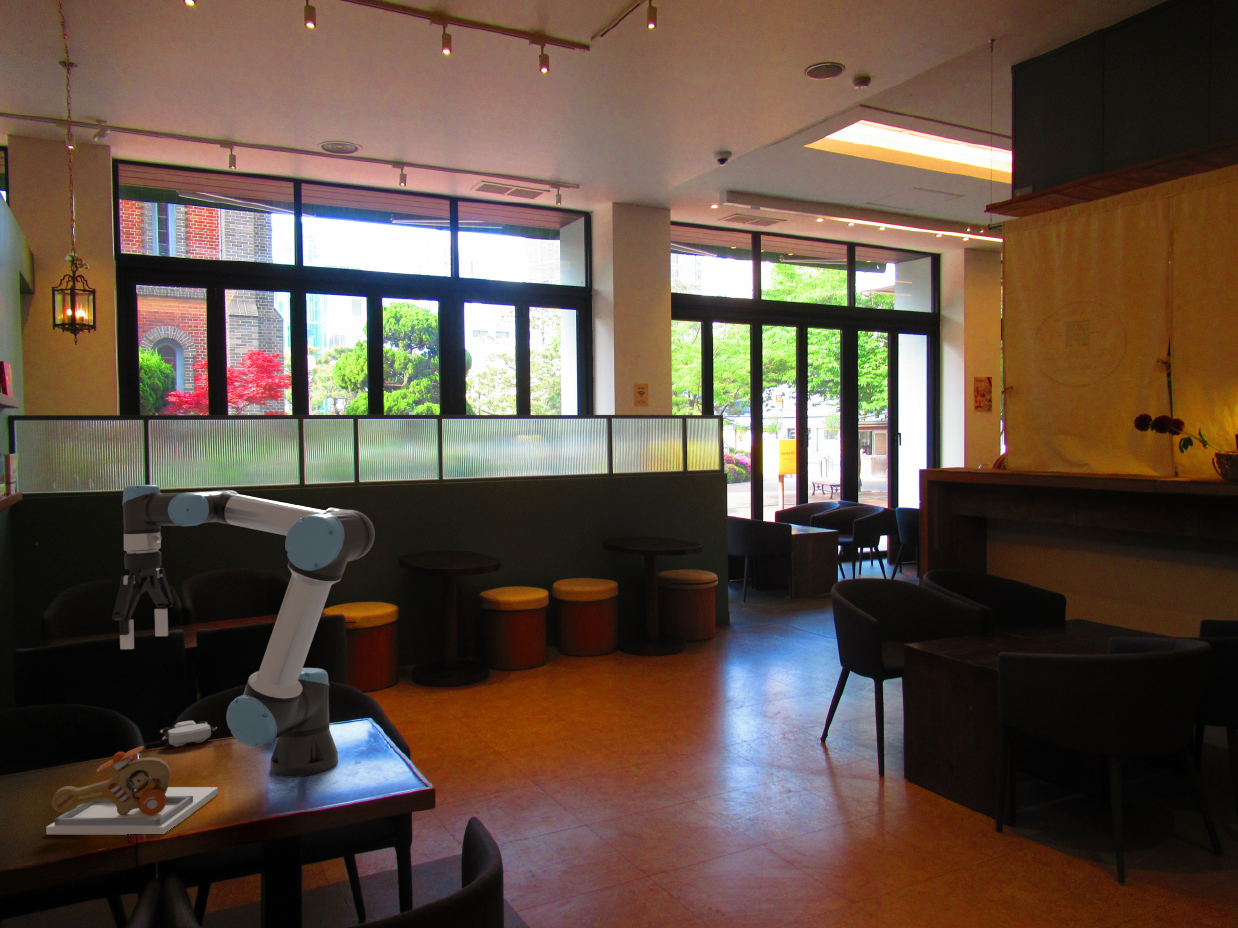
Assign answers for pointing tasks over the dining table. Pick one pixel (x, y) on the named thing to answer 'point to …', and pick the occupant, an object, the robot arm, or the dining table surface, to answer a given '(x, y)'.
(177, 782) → the dining table surface
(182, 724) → the robot toy
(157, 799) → the toy helicopter
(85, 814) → the board
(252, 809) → the dining table surface
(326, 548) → the robot arm
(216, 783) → the dining table surface
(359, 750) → the dining table surface
